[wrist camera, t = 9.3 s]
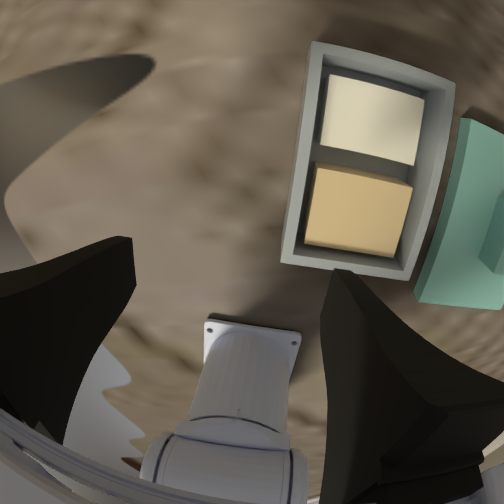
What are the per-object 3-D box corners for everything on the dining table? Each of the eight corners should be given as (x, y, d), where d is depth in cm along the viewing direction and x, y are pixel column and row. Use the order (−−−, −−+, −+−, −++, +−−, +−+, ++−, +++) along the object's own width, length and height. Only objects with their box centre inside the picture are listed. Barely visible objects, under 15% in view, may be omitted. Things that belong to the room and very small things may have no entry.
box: (390, 252, 20) (408, 281, 16) (282, 234, 20) (280, 262, 17) (426, 86, 15) (455, 83, 11) (306, 55, 15) (312, 40, 11)
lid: (493, 301, 21) (512, 326, 17) (412, 291, 21) (429, 321, 18) (540, 158, 14) (569, 170, 11) (460, 117, 15) (491, 121, 12)
